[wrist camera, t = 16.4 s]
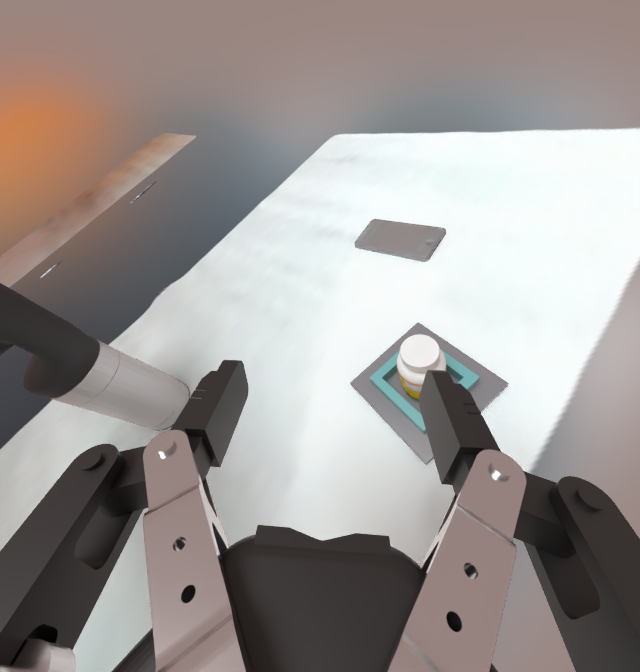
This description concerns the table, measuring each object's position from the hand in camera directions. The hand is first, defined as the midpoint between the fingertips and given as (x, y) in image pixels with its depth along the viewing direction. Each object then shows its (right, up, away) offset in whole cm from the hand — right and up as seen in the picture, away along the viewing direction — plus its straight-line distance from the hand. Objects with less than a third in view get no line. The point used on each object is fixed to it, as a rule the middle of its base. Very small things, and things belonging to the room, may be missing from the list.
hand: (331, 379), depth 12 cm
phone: (+15, +21, +42) cm, 49 cm away
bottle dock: (+13, -5, +25) cm, 29 cm away
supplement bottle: (+13, -5, +24) cm, 28 cm away
